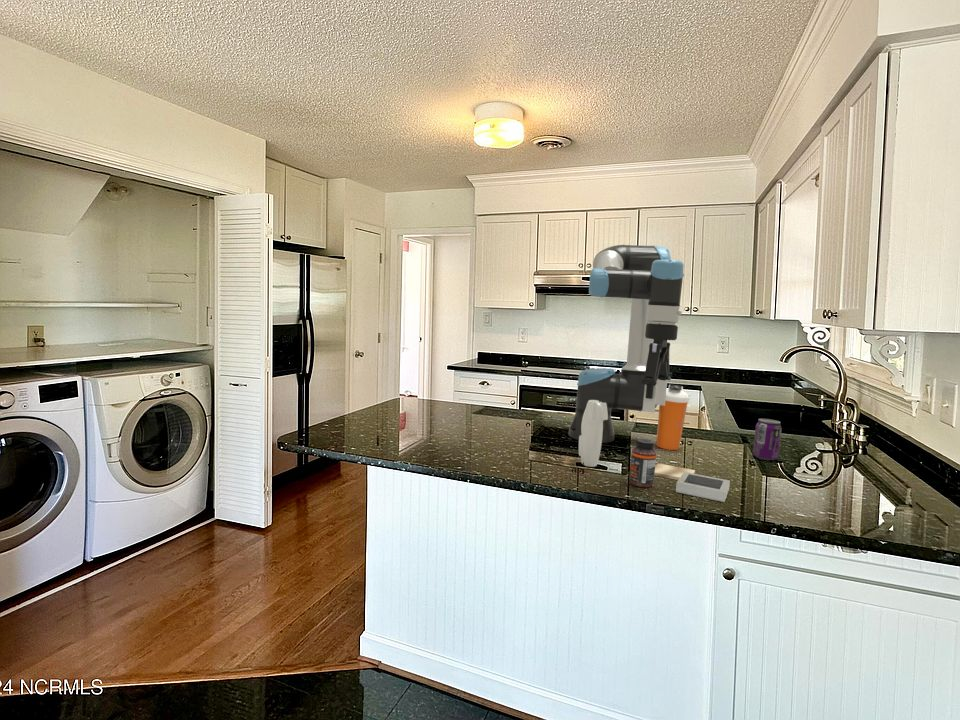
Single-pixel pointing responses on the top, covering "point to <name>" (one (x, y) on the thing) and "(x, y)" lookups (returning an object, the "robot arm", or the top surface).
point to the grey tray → (703, 486)
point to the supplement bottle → (642, 464)
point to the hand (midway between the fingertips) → (654, 408)
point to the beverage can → (767, 439)
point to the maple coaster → (670, 471)
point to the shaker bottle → (672, 418)
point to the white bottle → (592, 432)
